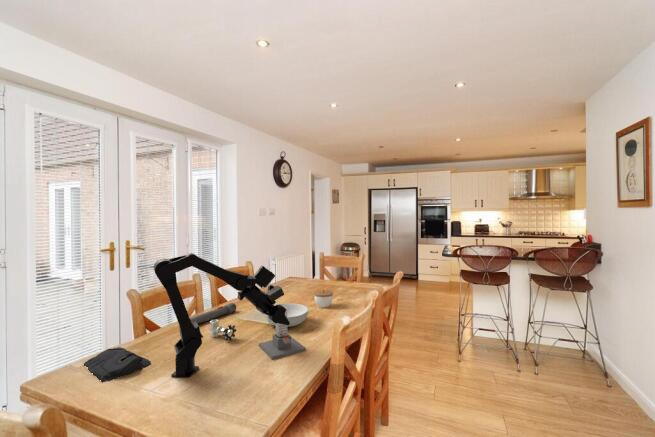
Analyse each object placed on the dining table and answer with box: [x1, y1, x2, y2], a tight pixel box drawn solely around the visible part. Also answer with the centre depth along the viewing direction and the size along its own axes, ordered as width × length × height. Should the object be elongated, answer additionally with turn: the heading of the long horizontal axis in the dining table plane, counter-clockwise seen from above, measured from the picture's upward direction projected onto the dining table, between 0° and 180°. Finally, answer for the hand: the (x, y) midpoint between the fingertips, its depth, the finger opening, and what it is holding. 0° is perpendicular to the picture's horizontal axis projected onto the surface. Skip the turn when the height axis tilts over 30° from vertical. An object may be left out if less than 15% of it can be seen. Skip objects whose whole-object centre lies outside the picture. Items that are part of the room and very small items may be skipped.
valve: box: [209, 319, 237, 341], centre depth 135 cm, size 7×7×12 cm
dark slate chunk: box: [83, 346, 152, 383], centre depth 111 cm, size 15×22×5 cm
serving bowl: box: [264, 302, 309, 328], centre depth 151 cm, size 21×21×7 cm
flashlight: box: [189, 302, 237, 325], centre depth 159 cm, size 5×28×5 cm, turn 150°
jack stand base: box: [258, 333, 307, 360], centre depth 124 cm, size 14×14×5 cm
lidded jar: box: [313, 289, 334, 309], centre depth 179 cm, size 11×11×9 cm
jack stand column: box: [275, 307, 289, 338], centre depth 124 cm, size 4×4×11 cm
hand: (284, 320), depth 125 cm, fingers open, 9 cm apart
